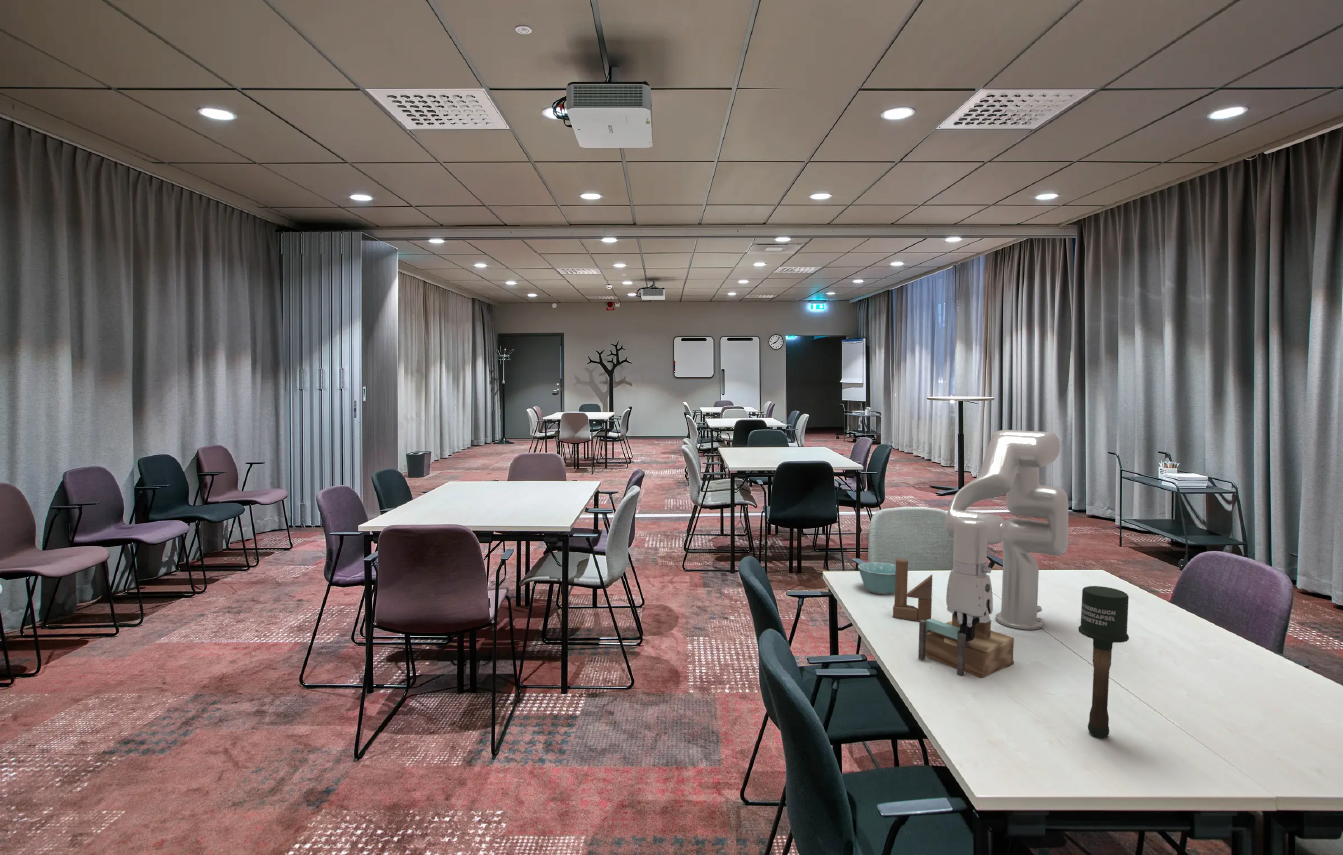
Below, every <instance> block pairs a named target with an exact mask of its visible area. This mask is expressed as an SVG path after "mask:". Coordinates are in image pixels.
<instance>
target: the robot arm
mask: <svg viewBox="0 0 1343 855" xmlns="http://www.w3.org/2000/svg"><path fill="white" fill-rule="evenodd" d="M990 438H991V439H990V441H989V444H988V446H987V449H986V452H985V455H984V458H983V462H982V464H981V466H980V471H979V474H978V477H976V478H974V479H973V480H971V481H970V482H968V483H966V484H965V485H964V486H962V487H961V488H960V489H959V490H958V491H957V492H955V494H954V496H953V497H952V499H951V501H950V504H949V506H948V508H947V509H948V510H947V513H946V516H945V519H944V520H945V521H944V529H945V531H946V534H947V535H948V536H949V537H951V538H953V556H952V557H953V561H952V562H953V564H952V569H950V572H949V575H948V580H947V586H946V595H945V596H946V598H945V601H946V602H945V603H946V610H947V612H949V613H950V614H954V615H955V616H956V618H957V619H958V623H959V624H960V633H963V634H965V635H966V642H969V641H972V640H973V639H974V637H975V625H977V624H978V623H979V622H981V623H987V622H989V621H990V620H991V618H990V615H991V614H993V610H994V607H993V606H994V602H993V601H994V600H993V587H992V582H991V578H990V575H989V574H991V572H992V568H991V567H989V566H988V563H987V562H988V558H987V557H988V546H989V545H991V546H993V545H997V544H1000V543H1002V544H1001V545H1002V546H1001V547H1002V582H1001V583H1002V584H1001V604H1000V605H1001V607H1000V609H1001V610H1000V612H997V613H996V614H995V615H994V616H995V617H994V618H995V621H996V622H998V623H999V624H1001V625H1003V626H1005V627H1006V626H1007V627H1009V628H1013V629H1019V630H1025V631H1026V630H1028V631H1029V630H1032V631H1033V630H1039V629H1041V628H1043V621H1042V620H1041V619H1040V618H1038V617H1037V616H1038V613H1041V612H1042V611H1043V609H1042V606H1041V605H1038V596H1039V578H1040V576H1039V572H1040V567H1039V565H1038V562H1037V560H1036V558H1035V557H1034V556H1033V553H1034V554H1040V555H1046V556H1052V557H1053V556H1055V557H1059V556H1063V555H1064V554H1065V553H1066V551H1067V549H1068V546H1069V498H1068V494H1067V493H1066V491H1065V490H1064V489H1063V488H1060V487H1058V486H1053V485H1052V486H1051V485H1043V484H1040V482H1039V468H1040V469H1042V468H1045V467H1046V466H1049V465H1051V464H1052V463H1053V462H1054V461H1056V460H1057V458H1058V456H1059V454H1060V451H1061V443H1060V439H1059V437H1058V436H1057V435H1056V433H1054V432H1050V431H1039V430H1038V431H1035V430H1022V429H1002V430H997V431H995V432H994V433H993V434H992V435H991V437H990ZM1005 494H1006V495H1005ZM1003 495H1005V502H1006V508H1007V510H1008V511H1009V513H1011V514H1013V515H1018V516H1023V517H1030V518H1031V517H1032V518H1036V519H1030V518H1029V519H1028V518H1022V517H1019V518H1018V517H1014V518H1013V517H1012V518H1008V519H1006V520H1005V519H1004V518H1003V517H1001V516H999V515H996V514H991V513H985V512H979V511H978V512H977V511H972V510H971V511H970V510H967V509H968V508H969V507H970V506H972V505H973V504H975V503H978V502H980V501H985V500H988V499H991V498H992V499H993V498H996V497H999V496H1003ZM1037 518H1038V519H1045V520H1046V521H1043V520H1037ZM968 614H969V615H968Z"/></svg>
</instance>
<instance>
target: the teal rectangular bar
mask: <svg viewBox="0 0 1343 855" xmlns="http://www.w3.org/2000/svg"><path fill="white" fill-rule="evenodd" d="M946 623H947V622H943V621H940V620H936V619H934V618H931V619H928V620H926V629H928V630H931V631H934V632H937V633H940V634H943V635H945V636H948V637H951V638H954V639H958V634H960V628H958V627H955V626H952V625H949V624H946Z"/></svg>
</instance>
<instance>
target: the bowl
mask: <svg viewBox="0 0 1343 855" xmlns="http://www.w3.org/2000/svg"><path fill="white" fill-rule="evenodd" d="M857 567H858V568H857V569H858V571H859V574H860V578H861V579H862V583H863V586H864V588H865V589H866V590H867V591H869V592H870V593H872V594H875V595H876V594H877V595H882V596H883V595H884V596H885V595H893V594H895V568H896V564H893V563H889V562H888V563H887V562H878V561H877V562H875V561H873V562H864V563H859V564H858V565H857Z"/></svg>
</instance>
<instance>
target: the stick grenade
mask: <svg viewBox="0 0 1343 855" xmlns="http://www.w3.org/2000/svg"><path fill="white" fill-rule="evenodd" d="M1081 591H1082V592H1081V606H1080V607H1081V608H1080V609H1081V610H1080V625H1079V626H1078V628H1077V629H1078V632H1079V633H1080V634H1081V635H1082V636H1085V637H1087V638H1089V639H1092V666H1093V671H1092V672H1093V674H1092V676H1093V678H1092V695H1091V697H1092V698H1091V707H1090V710H1089V715H1088V716H1089V718H1088V719H1089V720H1088V724H1087V730H1088V733H1089V734H1090V735H1091V736H1093V737H1094V738H1097V739H1106V738H1108V736H1109V735H1110V727H1109V723H1110V722H1109V720H1110V717H1109V712H1108V704H1109V703H1108V702H1109V683H1110V680H1109V679H1110V671H1111V670H1110V669H1111V666H1112V654H1113V653H1112V652H1113V644H1115V643H1116V644H1117V643H1120V644H1121V643H1125V642H1128V641H1129V640H1130V636H1129V634H1128V617H1129V598H1130V597H1129V595H1128V593H1127V592H1125V591H1122V590H1120V589H1117V588H1114V587H1113V588H1112V587H1107V586H1101V585H1100V586H1099V585H1087V586H1084V587H1083V588H1082V590H1081Z"/></svg>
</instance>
